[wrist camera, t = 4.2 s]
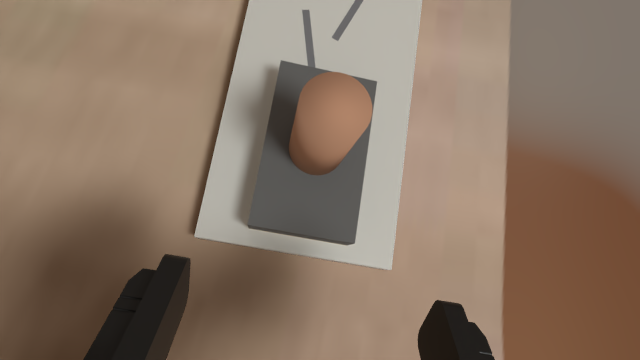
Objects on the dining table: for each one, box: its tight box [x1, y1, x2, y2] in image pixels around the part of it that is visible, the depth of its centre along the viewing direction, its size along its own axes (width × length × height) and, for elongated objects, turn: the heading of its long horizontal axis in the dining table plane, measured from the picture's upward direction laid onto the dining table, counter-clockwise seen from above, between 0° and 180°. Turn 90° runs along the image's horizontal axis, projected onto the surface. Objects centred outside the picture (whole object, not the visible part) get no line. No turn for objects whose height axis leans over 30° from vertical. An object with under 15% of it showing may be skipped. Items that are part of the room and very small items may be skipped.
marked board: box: [194, 0, 422, 270], centre depth 27 cm, size 26×12×2 cm, turn 171°
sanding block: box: [247, 60, 377, 246], centre depth 21 cm, size 10×6×8 cm, turn 171°
